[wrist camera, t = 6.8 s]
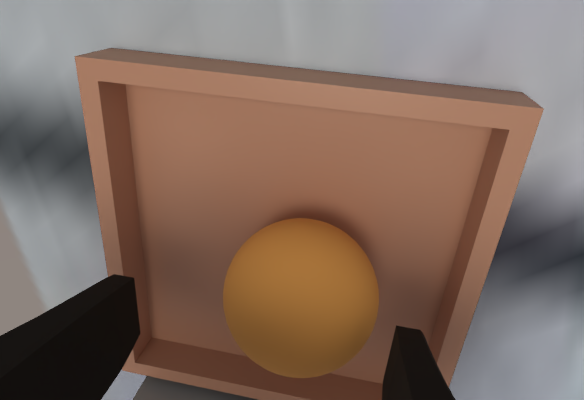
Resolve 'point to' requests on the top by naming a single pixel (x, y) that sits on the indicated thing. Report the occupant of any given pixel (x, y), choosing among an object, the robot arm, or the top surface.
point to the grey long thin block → (179, 391)
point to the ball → (300, 298)
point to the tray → (295, 200)
